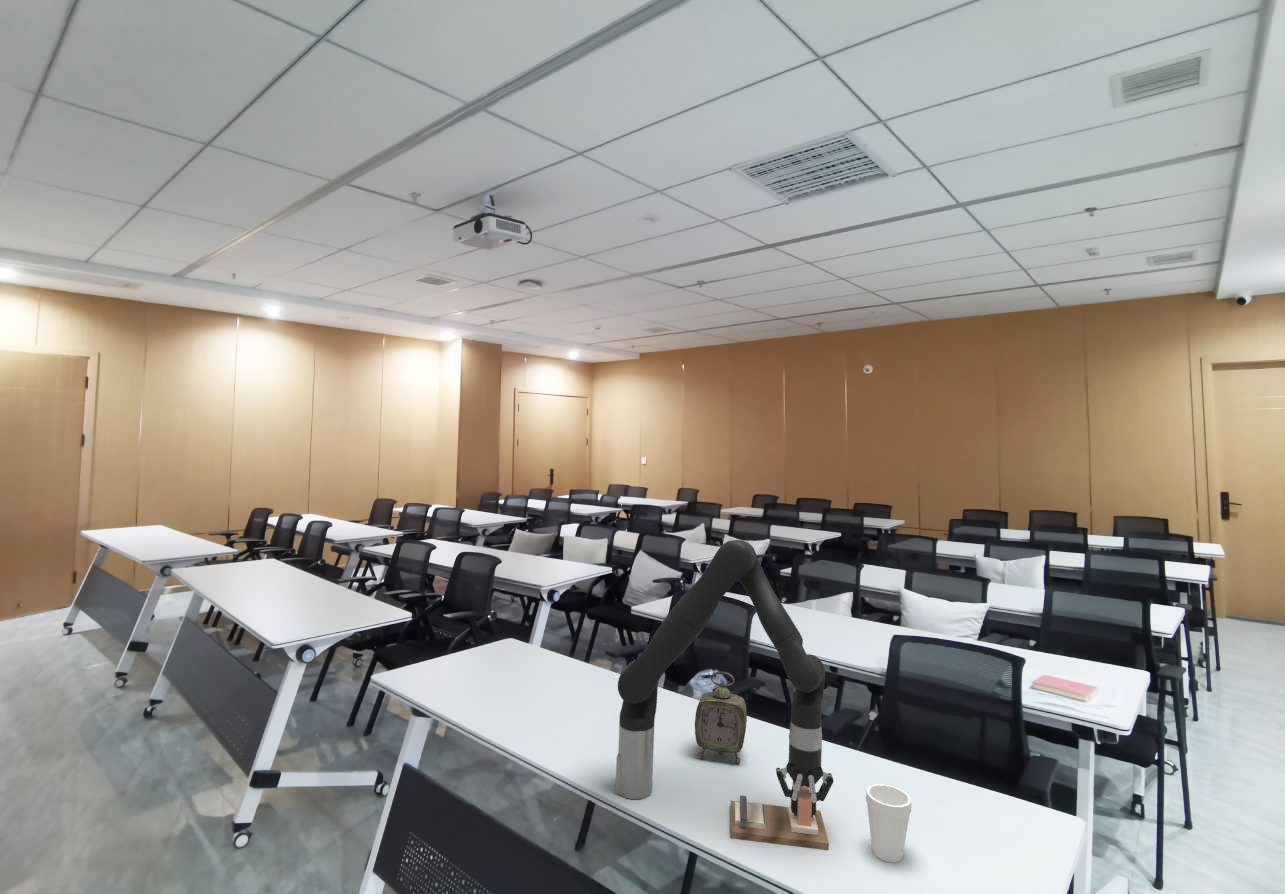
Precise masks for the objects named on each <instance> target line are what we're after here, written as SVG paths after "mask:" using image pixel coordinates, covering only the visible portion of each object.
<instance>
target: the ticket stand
mask: <svg viewBox="0 0 1285 894" xmlns="http://www.w3.org/2000/svg"><path fill="white" fill-rule="evenodd" d="M747 799H748V798H747V795H739V800H730V839H733V840H734V839H736V840H742V841H743V840H744V841H752V842H758V843H760V842H761V843H768V844H775V845H784V846H793V847H794V846H795V847H801V848H810V849H817V850H826V851H829V850H830V849H829V848H830V842H829V839H828V834H827V831H826V827H825V823H824V820H823V816H822V815H823V814H822V812H821V810H820V809H818V810H817V809H816V814H815V818H816V822H817V826H818V835H813V834H805V833H796V832H792V831H791V825H790V819H789V813H788V807H790V808H791V806H785V805H784V806H783V805H775V804H774V805H773V804H765V803H756V802H747V801H748V800H747Z"/></svg>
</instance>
